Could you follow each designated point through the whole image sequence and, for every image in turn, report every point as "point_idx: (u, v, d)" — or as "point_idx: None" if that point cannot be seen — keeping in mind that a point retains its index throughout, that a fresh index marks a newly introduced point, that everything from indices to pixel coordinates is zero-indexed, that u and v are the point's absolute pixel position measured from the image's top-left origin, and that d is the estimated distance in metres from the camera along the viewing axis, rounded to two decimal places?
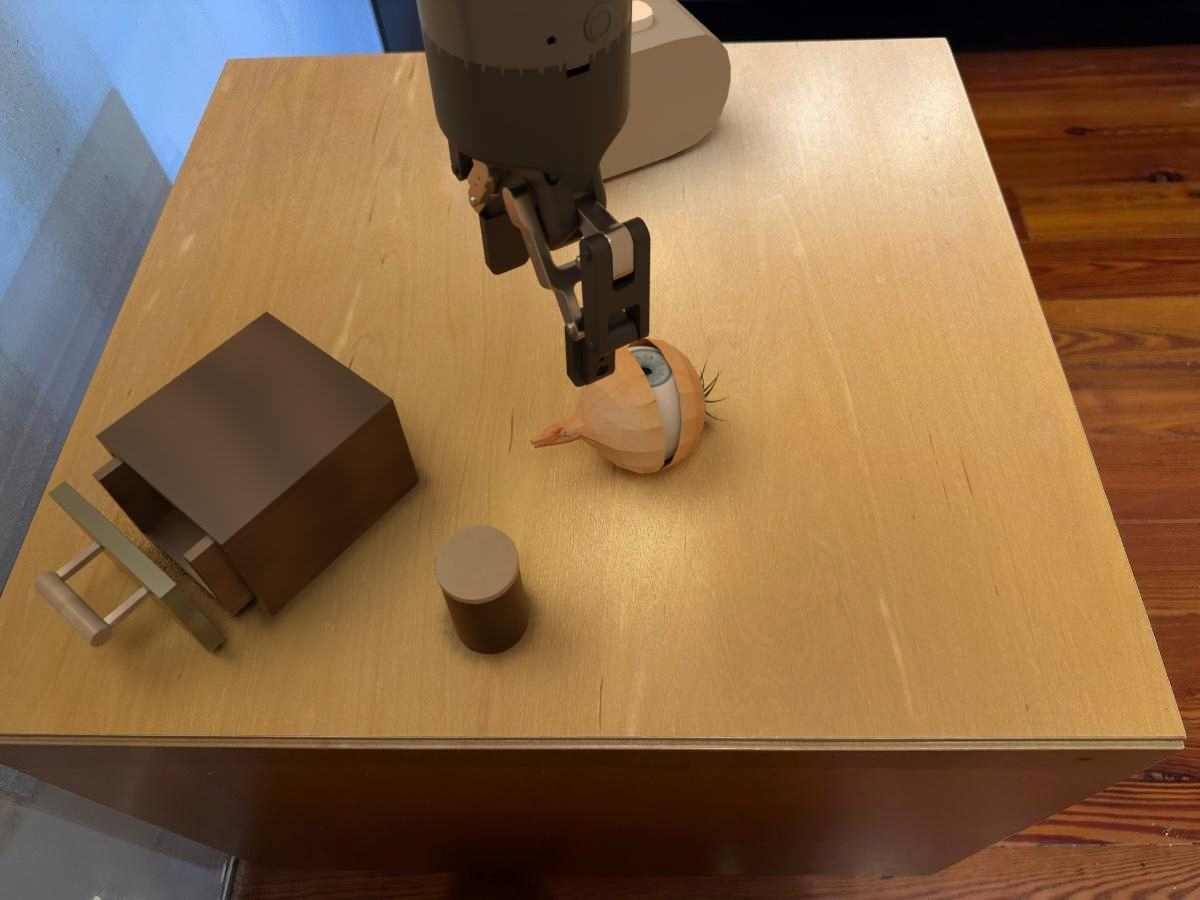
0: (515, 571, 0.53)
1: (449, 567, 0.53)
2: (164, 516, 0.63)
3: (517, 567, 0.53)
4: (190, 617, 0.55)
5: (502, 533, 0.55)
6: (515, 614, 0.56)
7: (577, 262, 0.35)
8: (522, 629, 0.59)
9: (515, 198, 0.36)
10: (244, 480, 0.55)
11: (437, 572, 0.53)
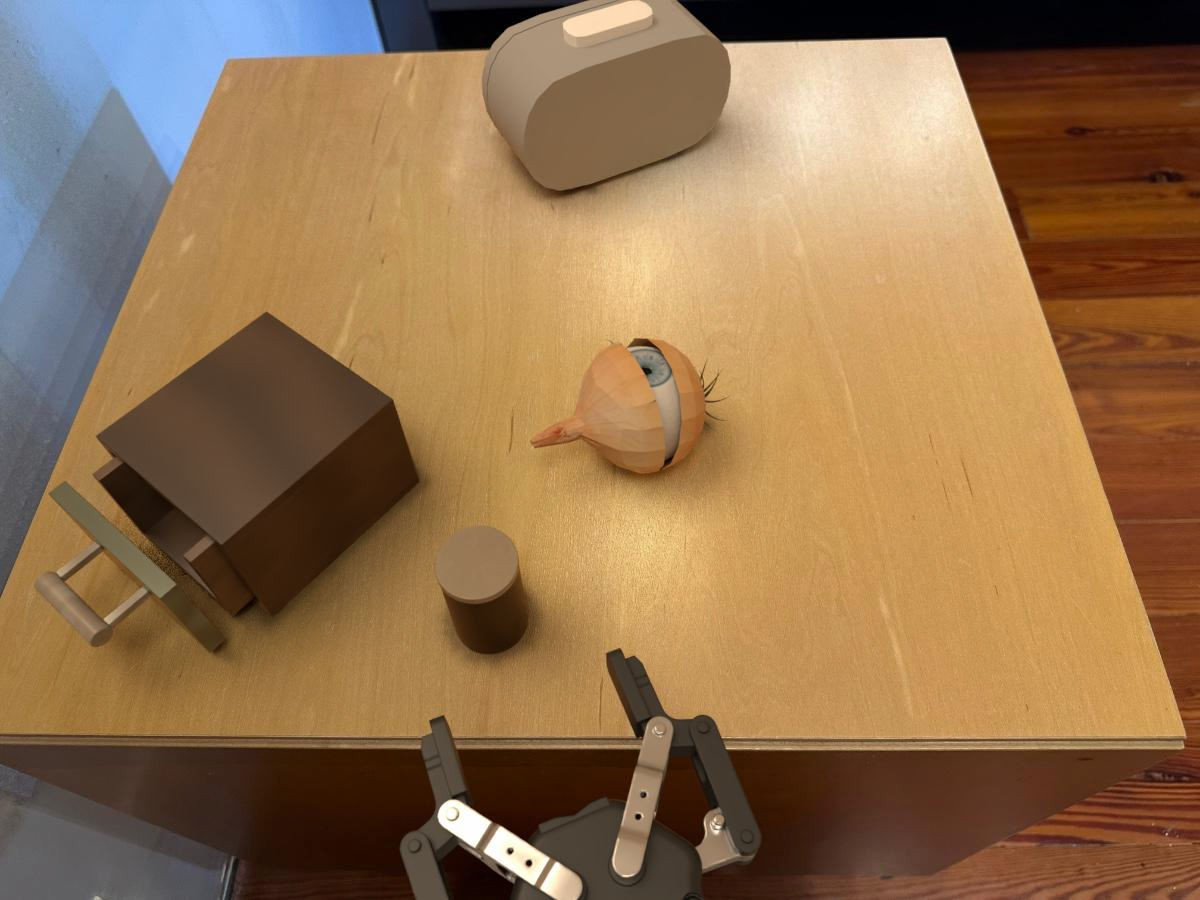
0: (515, 571, 0.53)
1: (449, 567, 0.53)
2: (164, 516, 0.63)
3: (517, 567, 0.53)
4: (190, 617, 0.55)
5: (502, 533, 0.55)
6: (515, 614, 0.56)
7: None
8: (522, 629, 0.59)
9: None
10: (244, 480, 0.55)
11: (437, 572, 0.53)
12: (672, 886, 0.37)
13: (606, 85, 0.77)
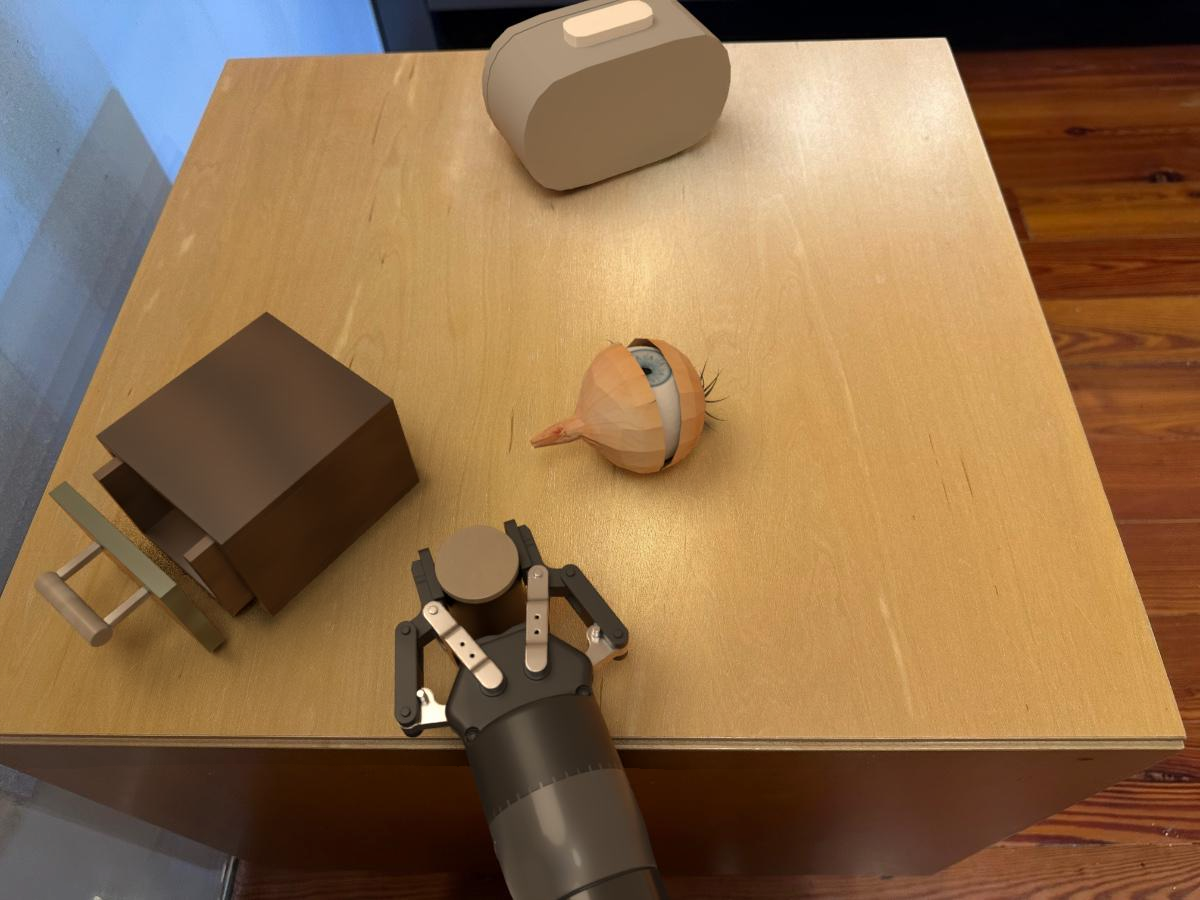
0: (515, 571, 0.53)
1: (449, 567, 0.53)
2: (164, 516, 0.63)
3: (517, 567, 0.53)
4: (190, 617, 0.55)
5: (502, 533, 0.55)
6: (515, 614, 0.56)
7: (415, 684, 0.50)
8: None
9: (484, 687, 0.49)
10: (244, 480, 0.55)
11: (437, 572, 0.53)
12: (569, 680, 0.50)
13: (606, 85, 0.77)
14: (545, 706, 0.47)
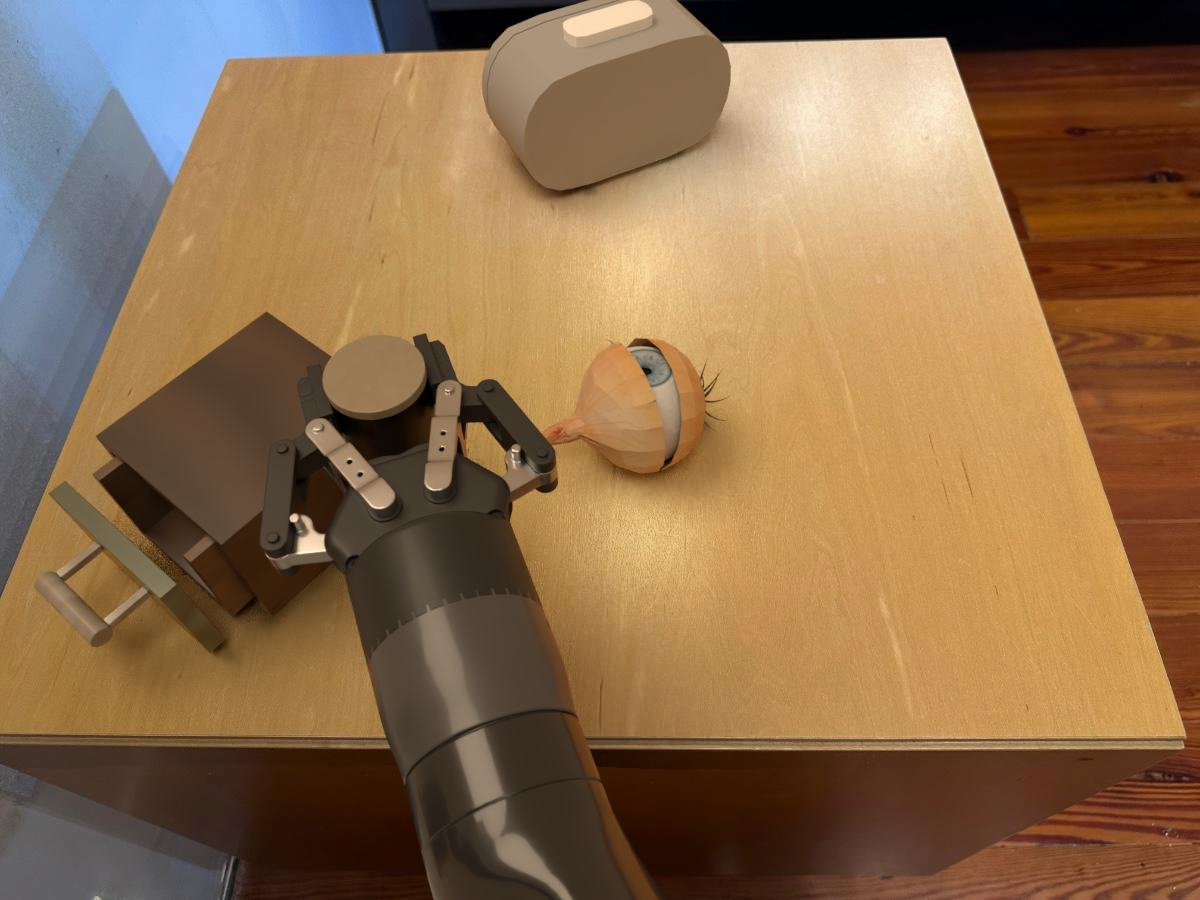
0: (420, 383, 0.44)
1: (340, 378, 0.44)
2: (164, 516, 0.63)
3: (423, 379, 0.44)
4: (190, 617, 0.55)
5: (408, 343, 0.45)
6: None
7: (289, 508, 0.40)
8: None
9: (371, 507, 0.40)
10: (244, 480, 0.55)
11: (325, 383, 0.44)
12: (479, 504, 0.41)
13: (606, 85, 0.77)
14: (441, 520, 0.37)
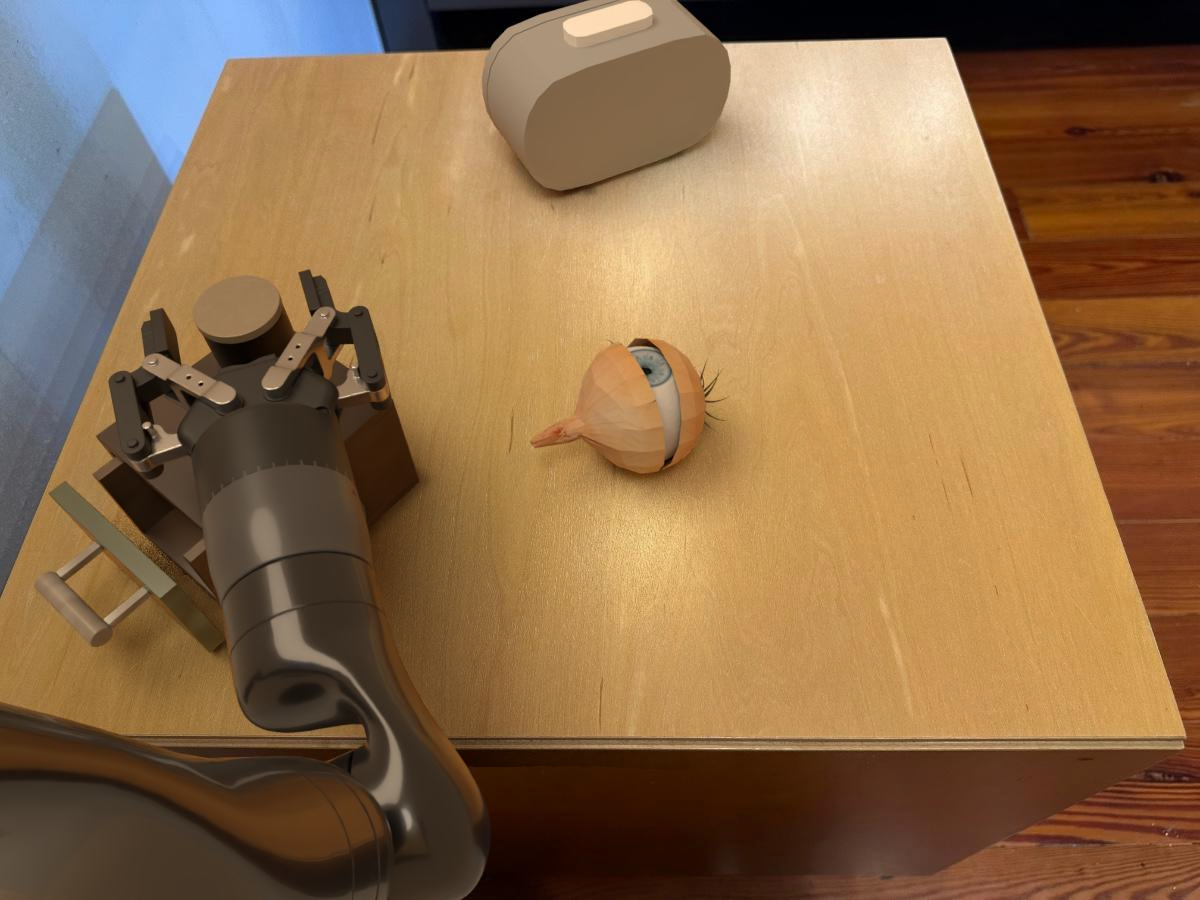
0: (274, 313, 0.52)
1: (207, 310, 0.52)
2: (164, 516, 0.63)
3: (277, 310, 0.52)
4: (190, 617, 0.55)
5: (267, 281, 0.54)
6: None
7: (146, 425, 0.48)
8: None
9: (218, 405, 0.47)
10: None
11: (194, 314, 0.52)
12: (308, 402, 0.48)
13: (606, 85, 0.77)
14: (264, 408, 0.45)
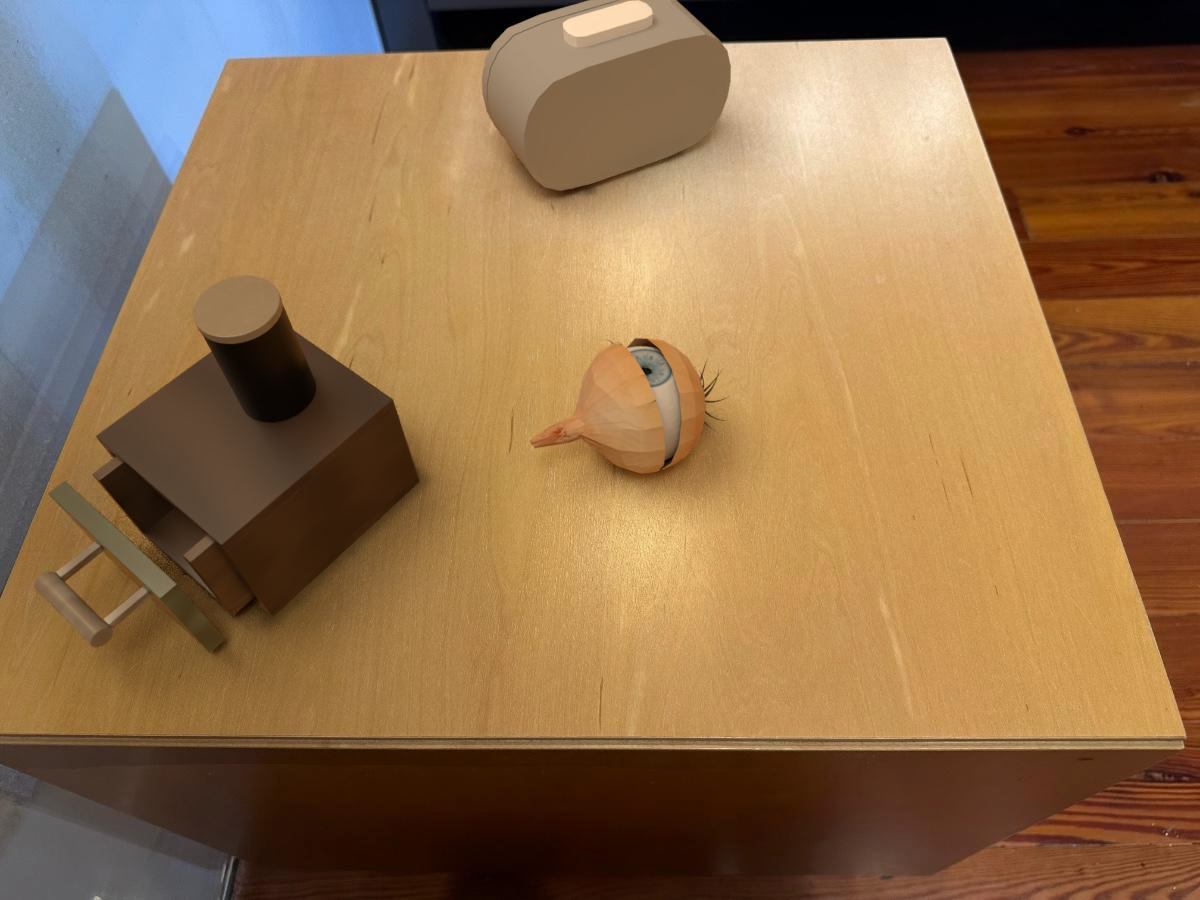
0: (274, 313, 0.52)
1: (207, 310, 0.52)
2: (164, 516, 0.63)
3: (277, 310, 0.52)
4: (190, 617, 0.55)
5: (267, 281, 0.54)
6: (287, 371, 0.55)
7: None
8: (304, 397, 0.58)
9: None
10: (244, 480, 0.55)
11: (194, 314, 0.52)
12: None
13: (606, 85, 0.77)
14: None
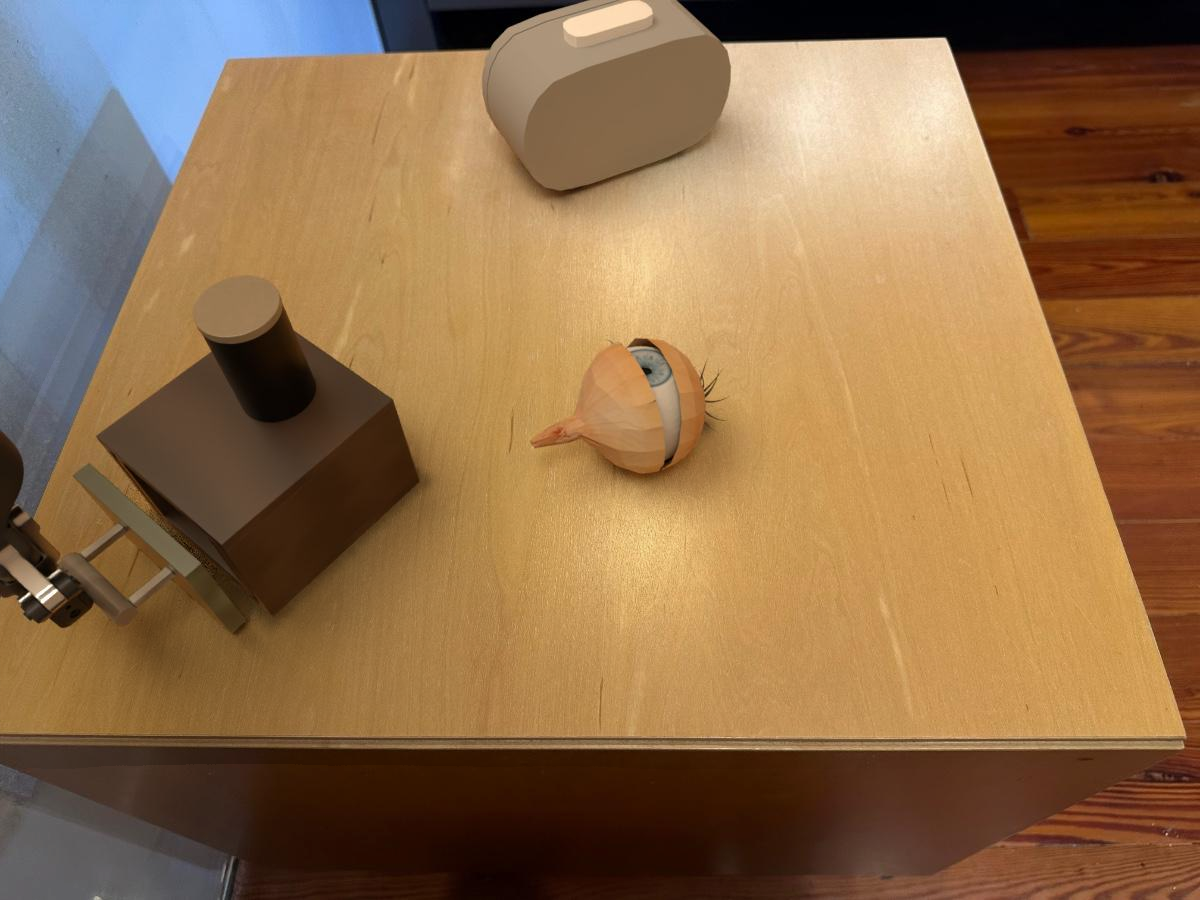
0: (274, 313, 0.52)
1: (207, 310, 0.52)
2: None
3: (277, 310, 0.52)
4: (213, 597, 0.55)
5: (267, 281, 0.54)
6: (287, 371, 0.55)
7: None
8: (304, 397, 0.58)
9: None
10: (244, 480, 0.55)
11: (194, 314, 0.52)
12: None
13: (607, 85, 0.77)
14: None
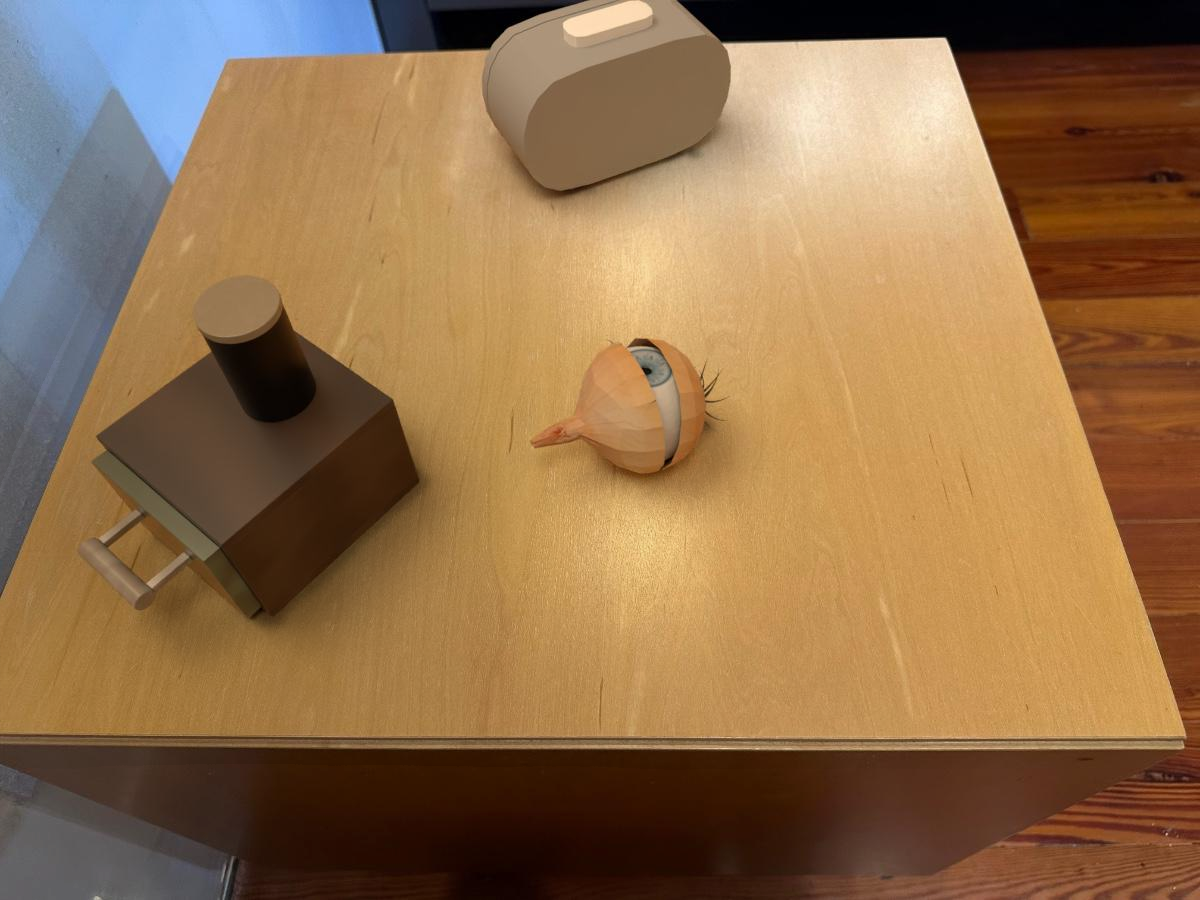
0: (274, 313, 0.52)
1: (207, 310, 0.52)
2: None
3: (277, 310, 0.52)
4: (230, 582, 0.56)
5: (267, 281, 0.54)
6: (287, 371, 0.55)
7: None
8: (304, 397, 0.58)
9: None
10: (244, 480, 0.55)
11: (194, 314, 0.52)
12: None
13: (606, 85, 0.77)
14: None
